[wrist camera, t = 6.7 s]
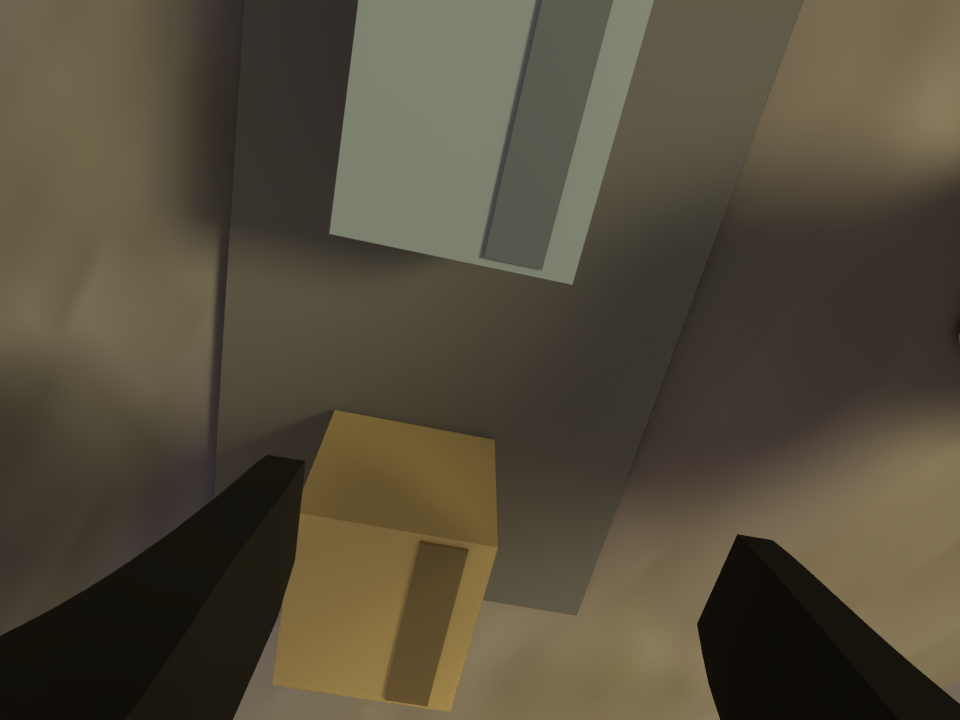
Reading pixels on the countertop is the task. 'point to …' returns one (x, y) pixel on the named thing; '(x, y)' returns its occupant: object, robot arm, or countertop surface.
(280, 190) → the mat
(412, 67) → the block
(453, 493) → the stub
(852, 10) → the countertop surface
